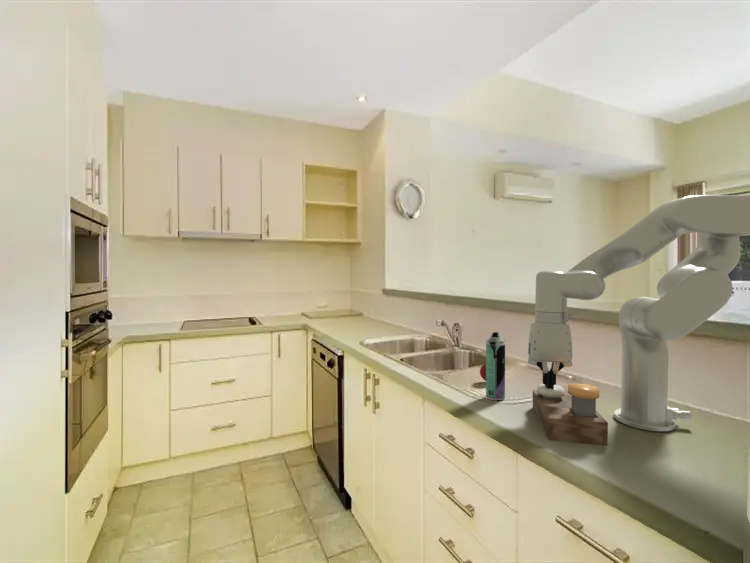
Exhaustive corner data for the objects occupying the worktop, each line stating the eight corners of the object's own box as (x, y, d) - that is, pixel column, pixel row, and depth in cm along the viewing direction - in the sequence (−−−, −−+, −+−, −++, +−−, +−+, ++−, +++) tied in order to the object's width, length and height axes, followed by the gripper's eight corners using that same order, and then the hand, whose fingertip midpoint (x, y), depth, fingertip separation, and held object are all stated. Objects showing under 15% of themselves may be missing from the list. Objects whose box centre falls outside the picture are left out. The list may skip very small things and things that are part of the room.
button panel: (579, 411, 100) (579, 393, 100) (607, 445, 81) (607, 422, 81) (532, 407, 103) (532, 390, 103) (548, 439, 84) (548, 418, 83)
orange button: (593, 411, 89) (593, 384, 89) (603, 422, 83) (603, 393, 82) (564, 409, 90) (564, 382, 90) (572, 420, 84) (572, 390, 84)
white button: (560, 408, 100) (560, 384, 100) (566, 418, 94) (567, 392, 93) (534, 407, 101) (535, 382, 101) (539, 415, 95) (539, 390, 95)
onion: (497, 381, 128) (497, 358, 128) (497, 386, 122) (497, 362, 122) (479, 379, 130) (479, 357, 129) (479, 384, 124) (479, 361, 124)
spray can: (506, 401, 108) (506, 333, 107) (486, 400, 109) (487, 333, 108) (503, 395, 113) (503, 330, 113) (485, 394, 114) (485, 330, 114)
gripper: (577, 317, 99) (575, 385, 99) (518, 315, 102) (517, 380, 103) (586, 321, 91) (584, 394, 92) (522, 318, 95) (521, 389, 95)
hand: (549, 387), depth 97 cm, fingers closed
